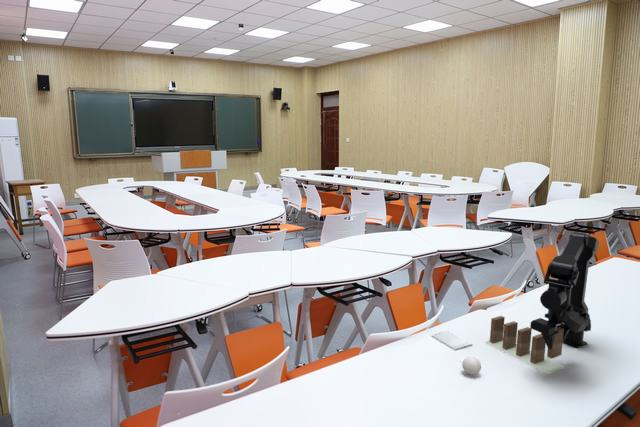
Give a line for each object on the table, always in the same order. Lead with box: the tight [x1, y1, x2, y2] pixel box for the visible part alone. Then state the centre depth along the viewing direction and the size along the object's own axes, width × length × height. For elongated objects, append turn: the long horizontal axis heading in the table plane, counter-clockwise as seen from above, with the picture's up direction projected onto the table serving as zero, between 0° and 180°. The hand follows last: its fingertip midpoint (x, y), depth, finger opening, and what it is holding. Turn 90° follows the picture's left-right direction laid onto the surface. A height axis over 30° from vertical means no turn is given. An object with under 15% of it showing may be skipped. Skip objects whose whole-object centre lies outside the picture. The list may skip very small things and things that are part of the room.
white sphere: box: [459, 355, 482, 376], centre depth 142 cm, size 8×6×6 cm
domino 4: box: [530, 333, 547, 364], centre depth 148 cm, size 2×5×9 cm, turn 119°
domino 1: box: [489, 315, 505, 344], centre depth 163 cm, size 2×5×9 cm, turn 119°
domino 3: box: [516, 326, 533, 357], centre depth 153 cm, size 2×5×9 cm, turn 119°
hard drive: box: [430, 330, 473, 352], centre depth 164 cm, size 2×8×12 cm
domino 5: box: [546, 327, 564, 360], centre depth 143 cm, size 2×5×9 cm, turn 119°
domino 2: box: [502, 321, 519, 350], centre depth 158 cm, size 2×5×9 cm, turn 119°
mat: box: [484, 340, 566, 375], centre depth 154 cm, size 9×25×1 cm, turn 29°
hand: (554, 346), depth 143 cm, fingers closed on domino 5, 5 cm apart
